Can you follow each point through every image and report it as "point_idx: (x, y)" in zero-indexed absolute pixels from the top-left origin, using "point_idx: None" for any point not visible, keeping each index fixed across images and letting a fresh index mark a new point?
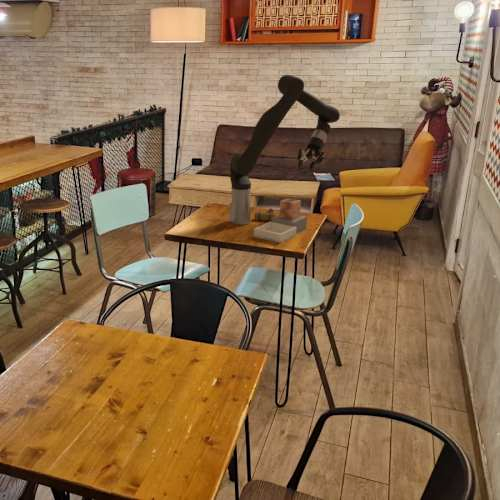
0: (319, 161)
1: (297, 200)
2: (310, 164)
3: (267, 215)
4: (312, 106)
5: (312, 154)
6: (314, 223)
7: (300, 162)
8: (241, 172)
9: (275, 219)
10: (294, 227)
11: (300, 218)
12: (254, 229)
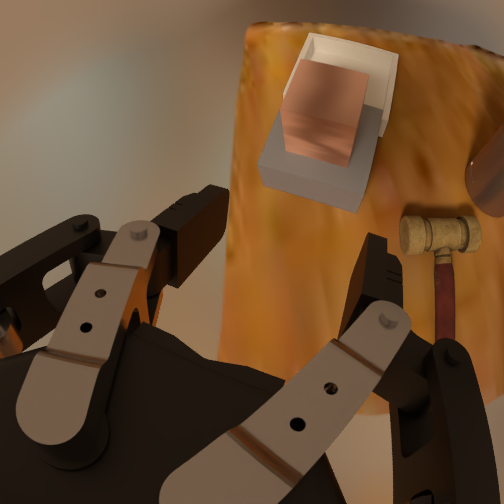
0: (72, 286)
1: (296, 101)
2: (203, 207)
3: (432, 219)
4: None
5: (114, 316)
6: (240, 266)
7: (376, 270)
8: None
9: (368, 107)
10: (288, 87)
11: (279, 132)
12: (396, 55)
